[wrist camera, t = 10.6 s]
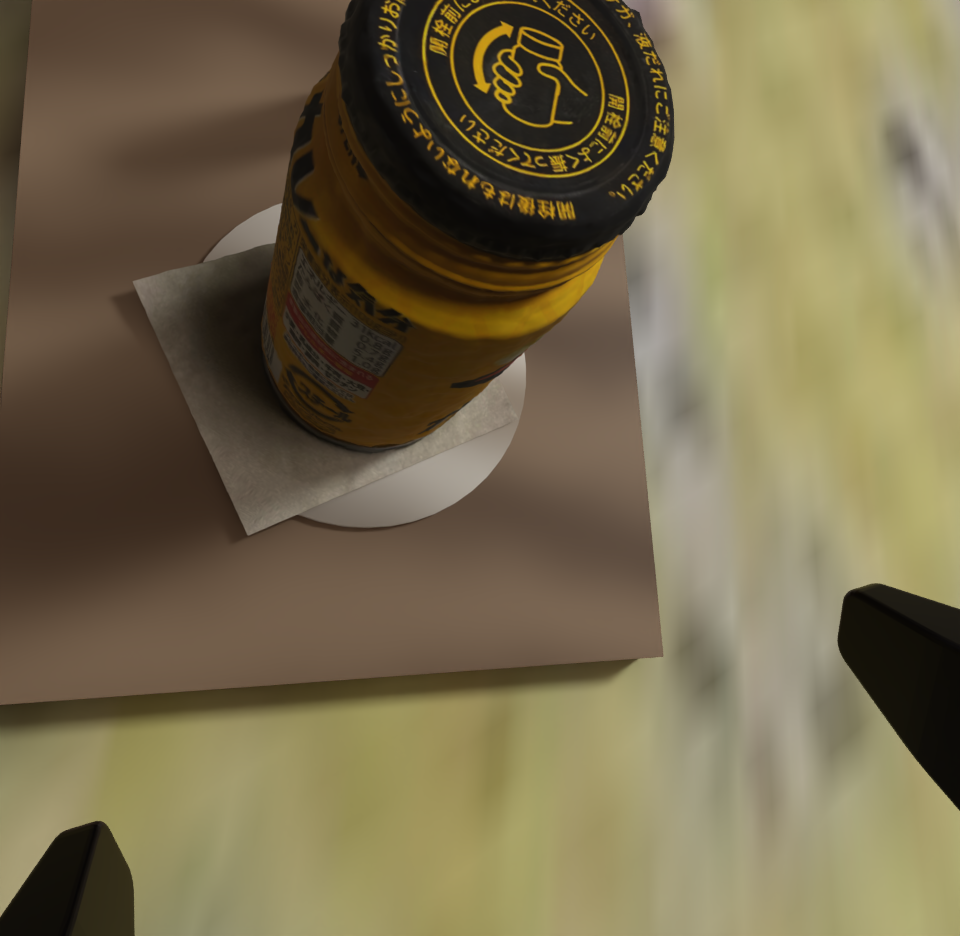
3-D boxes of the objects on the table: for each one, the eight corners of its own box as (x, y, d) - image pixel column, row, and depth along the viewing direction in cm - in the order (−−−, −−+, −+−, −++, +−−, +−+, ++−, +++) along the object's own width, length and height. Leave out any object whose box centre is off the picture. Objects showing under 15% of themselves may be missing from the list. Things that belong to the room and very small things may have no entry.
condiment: (516, 420, 23) (798, 219, 12) (247, 536, 20) (297, 407, 9) (413, 207, 24) (596, -178, 12) (133, 286, 20) (43, -140, 9)
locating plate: (642, 655, 24) (805, 661, 18) (-10, 702, 18) (-132, 737, 12) (587, 56, 29) (701, -119, 22) (47, -63, 23) (-17, -350, 16)
